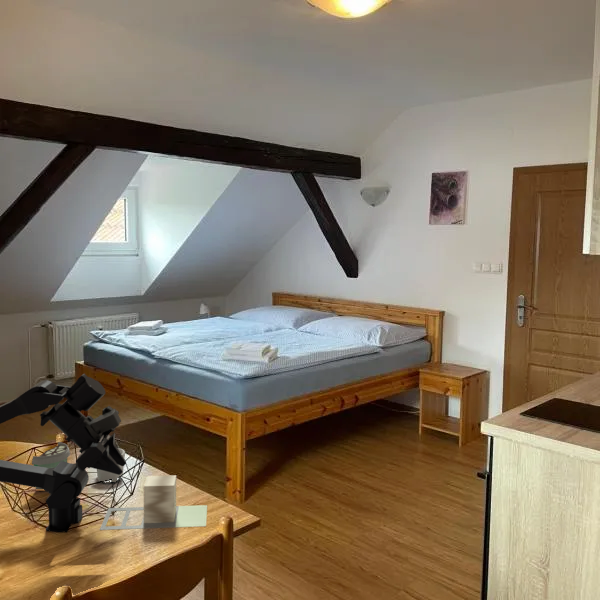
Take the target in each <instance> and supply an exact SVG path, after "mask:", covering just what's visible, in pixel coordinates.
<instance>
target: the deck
mask: <svg viewBox="0 0 600 600" xmlns="http://www.w3.org/2000/svg"><path fill="white" fill-rule="evenodd" d="M121 511H122V512H123V511H124V512H125V513H124V516H123V519H122V523H121V525H110V526H109V525H108V526H107V523H108V521H109V519H110V517H111V514H112V512H121ZM131 511H144V506H139V507H138V506H136V507H109V508H107V511H106V513H105V516H104V519H103V521H102V523H101V526H100V527H99V531H107V530H108V531H110V530H114V531H115V530H138V529H140V530H141V529H142V530H145V529H165V528H166V529H169V528H192V527H193V528H195V527H197V528H198V527H207V515H208V514H207V513H208V505H207V504H205V505H204V504H203V505H201V504H200V505H176V514H175V520H174V522H165V523H144V515H143V517H142V519H141V524H139V525H138V524H137V525H127V522H128V520H129V518H130V517H129V516H130V513H131Z"/></svg>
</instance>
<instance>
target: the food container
mask: <svg viewBox="0 0 600 600" xmlns="http://www.w3.org/2000/svg"><path fill="white" fill-rule="evenodd" d="M70 451H71V450H70V448H69V445H68V444H66V443H64V442H60V441H58V442H57V445H56V446H55V447H53V448H51V449H47V450H45V451H44V452H43V453H42V454H40V455H38V456H37V455H35V456H34V455H32V460H31V465H33V466H39V467H45V468H54V467H56V466H57V465H58V464H59V463H60V461H65V462H68V458H69V457H70V456H71V452H70ZM36 489H42V488H36V487H35V490H36Z"/></svg>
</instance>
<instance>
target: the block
mask: <svg viewBox="0 0 600 600" xmlns="http://www.w3.org/2000/svg"><path fill="white" fill-rule="evenodd" d="M176 506H177V475H173V474H172V475H170V474H169V475H146V478H145V481H144V484H143V507H144V510H143V516H144V523H165V522H174V520H175V514H176Z"/></svg>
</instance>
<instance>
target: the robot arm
mask: <svg viewBox="0 0 600 600" xmlns="http://www.w3.org/2000/svg"><path fill="white" fill-rule="evenodd" d="M104 395H106V389H105V388H104V386H103V385H102V384H101V382H100V381H98V380H95V379H94V378H92V377H90V376H88V375H87V374H86V373H83V374H82V375H80V376H79V378H77V379H76V380H75V382H74V383H73V384H72V385H71V386H66V385H61V384H60V385H59V384H56V383H54V382H53V381H50V380H48V379H44V380H41V381H39V382H38V383H36V384H35V385H33V386H32V387H31V388H29V389H28V390H26V391H25V392H23V393H22V394H20V395H19V396H17V397H16V398H14V399H11V400H9V401H8V402H5V403H2V404H1V405H0V425H2V424H4V423H5V422H7V421H10V420H12V419H15V418H16V417H18V416H19V417H20V416H25V415H31V414H33V413H34V414H35V413H39V412H41V413H40V414H39V416H40V426H41V427H45V425H46V424H47V423H48V422H49V421H50V422H51V423H52V424H53V425H54V426H55V427H57V429H58V430H60V431H61V432H62V433H63V434H64V435H65V436H66V438H65V440H66V441H67V442H68V443H70V442H72V443H74V444H75V445H76V446H77V447H78V448H79V451H78V452H79V453H80V454H78V457H77V459H75V463H72V462H68V461H67V462H65V461H60V463H59V464H58V465H57V466H56V467H54V468H45V467H39V466H34V465H33V464H26V463H21V462H14V461H9V460H5V459H3V460H2V459H0V483H7V484H12V485H13V484H14V485H20V486H25V487H31V488H35V489H36V488H42V489H44V490H45V491H44V492H47V493H48V494H49V495H48V496H47V498H46V499H45V503H46V506H47V508H48V525H47V527H46V528H45V532H52V533H53V532H54V533H68V531H69V530H70V528H71V525H75V524H79V523H80V521H82V519H83V505H82V504H81V498H80V497H79V496H80V495H81V494H82V492H83V491H84V489H85V488H86V486H87V485H88V482H89V477H90V476H89V473H88V471H87V470H86V469H90V468H91V469H94V470H97V469H99V470H103V471H107V472H110V473H114V474H118V475H120V474H121V473H122V472H123V473H124V470H123V471H122V469H121V468H120V467H119V465H121V466H124V467H125V466H126V465H127V461H126V460H125V459H124V458H123V456H122V455H121V453H120V451H119V450H118V446H117V445H116V443H115V442H116V438H115V437H116V432H114V431H115V430H116V429H117V428H118V427H119V426H120V423H121V422H122V419H121V417H120V415H119V413H120V411H119V410H117V409H116V408H112V407H111V406H110V405H108V406H107V407H106V406H105V407H104V408H103V409H102V413H101V414H100V415H99V416H98V417H96V418H94V417H93V416H92V415H87V416H86V415H84V414H83V413H82V411H83V412H88V411H89V410H90V409H91V408H92V407H93V406H94V405H95V404H96V403H97V402H98V401H100V399H102V398H103V397H104ZM64 399H66V400H65V401H64V402H63V403H60V402H62V401H63V400H64ZM51 406H52V407H51ZM49 407H51V408H50V409H49V410H47V411H45V410H46V409H48V408H49ZM111 432H112V434H111V435H110V433H111ZM113 432H114V433H113Z"/></svg>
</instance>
